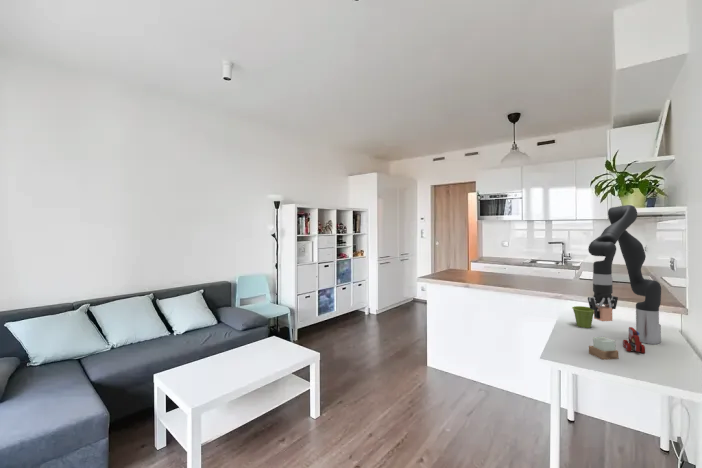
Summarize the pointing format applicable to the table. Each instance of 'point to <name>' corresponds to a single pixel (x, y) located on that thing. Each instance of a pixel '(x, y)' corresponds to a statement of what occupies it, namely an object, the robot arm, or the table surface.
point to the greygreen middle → (604, 344)
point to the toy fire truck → (633, 342)
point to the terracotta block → (605, 314)
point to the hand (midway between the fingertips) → (602, 318)
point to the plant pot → (583, 316)
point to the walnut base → (603, 353)
